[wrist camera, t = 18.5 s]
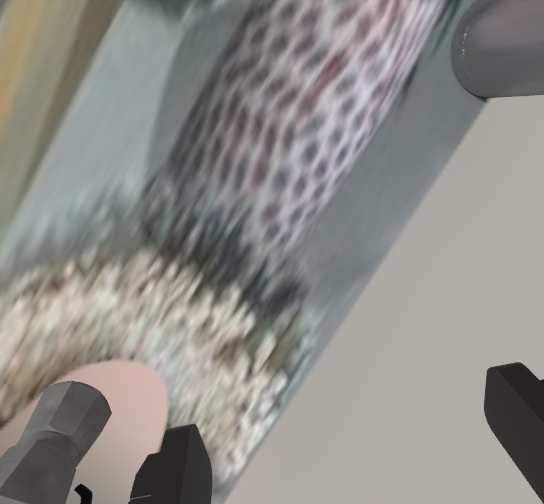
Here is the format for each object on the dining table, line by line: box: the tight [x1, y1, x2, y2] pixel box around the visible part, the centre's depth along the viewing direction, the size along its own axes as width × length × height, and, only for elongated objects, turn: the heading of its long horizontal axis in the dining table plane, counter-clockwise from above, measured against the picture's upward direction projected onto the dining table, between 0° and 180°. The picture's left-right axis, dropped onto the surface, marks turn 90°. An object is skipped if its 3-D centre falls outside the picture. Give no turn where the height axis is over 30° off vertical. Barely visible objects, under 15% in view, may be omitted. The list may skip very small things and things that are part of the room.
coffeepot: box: [0, 381, 112, 504], centre depth 40 cm, size 15×9×18 cm, turn 37°
